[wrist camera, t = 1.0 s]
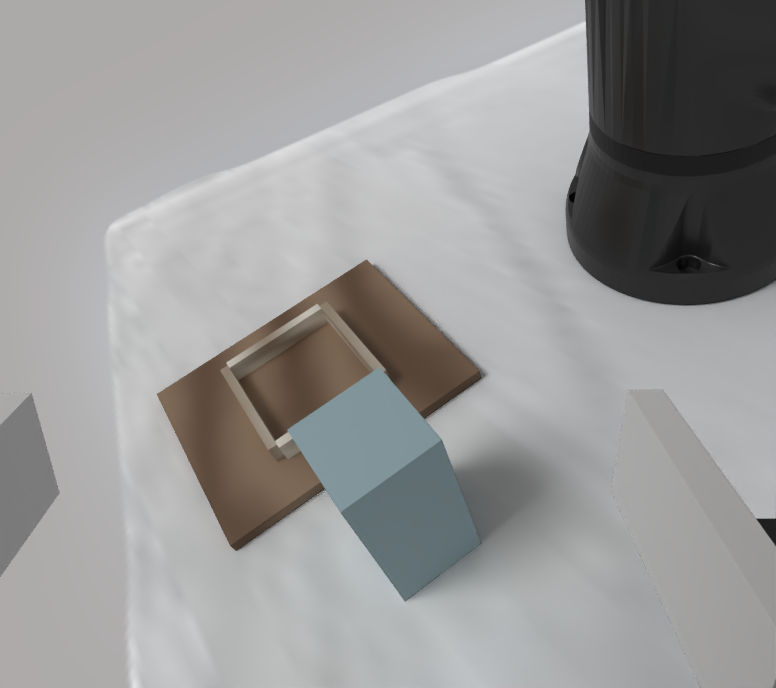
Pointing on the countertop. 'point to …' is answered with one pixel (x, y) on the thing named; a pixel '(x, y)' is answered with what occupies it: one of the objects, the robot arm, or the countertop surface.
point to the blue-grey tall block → (389, 481)
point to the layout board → (301, 393)
